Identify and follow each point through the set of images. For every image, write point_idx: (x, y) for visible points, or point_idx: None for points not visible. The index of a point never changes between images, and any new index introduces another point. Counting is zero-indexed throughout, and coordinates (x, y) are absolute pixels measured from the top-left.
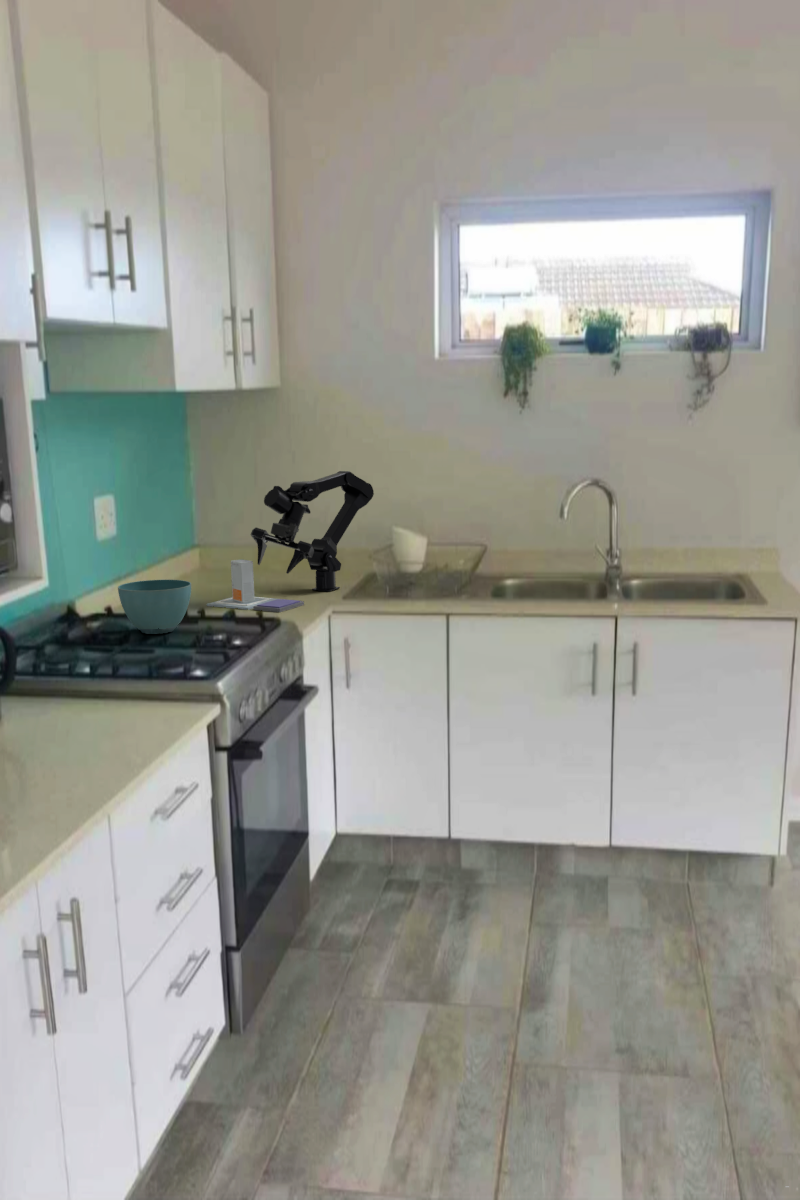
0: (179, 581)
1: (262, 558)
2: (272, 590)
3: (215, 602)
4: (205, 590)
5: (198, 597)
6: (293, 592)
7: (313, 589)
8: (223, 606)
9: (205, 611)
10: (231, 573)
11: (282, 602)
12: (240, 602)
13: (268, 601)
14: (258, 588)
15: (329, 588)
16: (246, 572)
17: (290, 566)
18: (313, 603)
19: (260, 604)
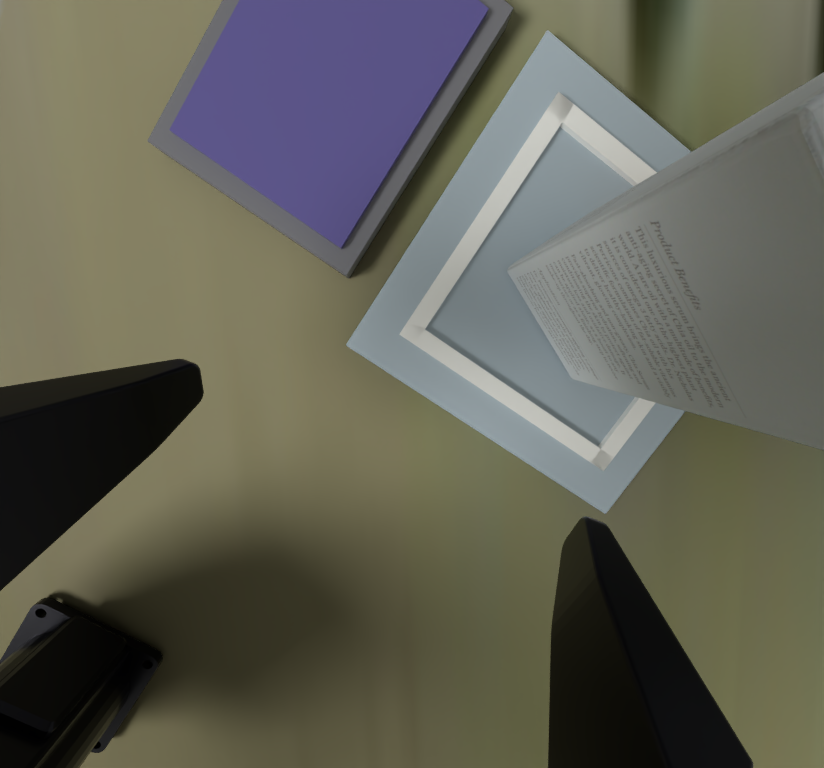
0: None
1: (550, 696)
2: (407, 693)
3: None
4: (766, 738)
5: (817, 544)
6: (278, 616)
7: (150, 652)
8: None
9: (814, 49)
10: None
11: (301, 78)
12: None
13: (413, 254)
14: (488, 760)
15: (34, 638)
16: (737, 128)
17: (77, 381)
18: (102, 200)
19: (464, 25)
